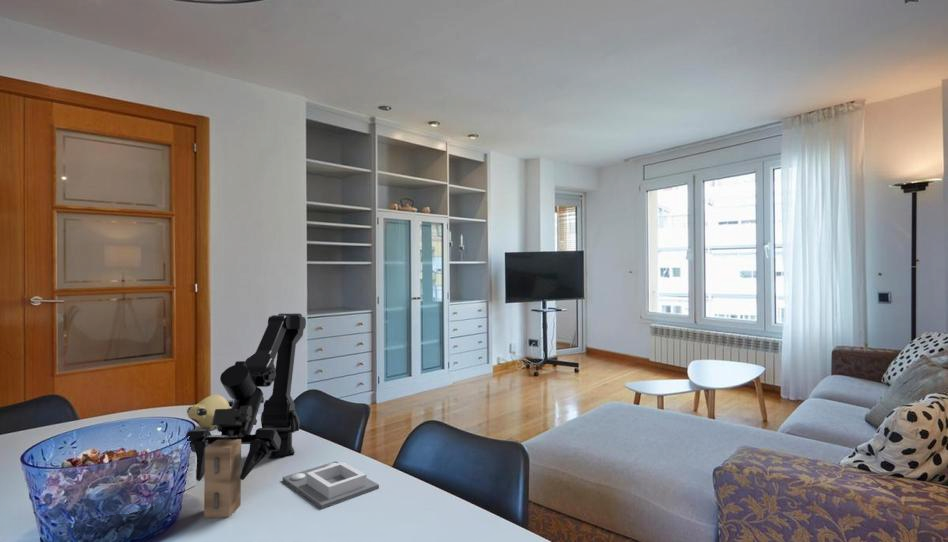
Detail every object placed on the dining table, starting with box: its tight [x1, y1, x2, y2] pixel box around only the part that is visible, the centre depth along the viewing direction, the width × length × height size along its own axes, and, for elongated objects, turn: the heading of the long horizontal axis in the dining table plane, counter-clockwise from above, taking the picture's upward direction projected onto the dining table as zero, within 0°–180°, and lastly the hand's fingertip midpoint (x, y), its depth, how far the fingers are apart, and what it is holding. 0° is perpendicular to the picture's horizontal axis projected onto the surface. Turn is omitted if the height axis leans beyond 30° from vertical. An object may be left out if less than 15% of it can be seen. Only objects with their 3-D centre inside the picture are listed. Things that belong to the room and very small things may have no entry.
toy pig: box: [186, 394, 231, 431], centre depth 152 cm, size 10×12×11 cm
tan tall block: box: [203, 439, 242, 519], centre depth 96 cm, size 6×5×14 cm
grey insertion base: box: [282, 461, 380, 510], centre depth 109 cm, size 20×14×3 cm
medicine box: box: [184, 451, 197, 492], centre depth 108 cm, size 8×4×9 cm, turn 74°
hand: (219, 479), depth 95 cm, fingers open, 8 cm apart
